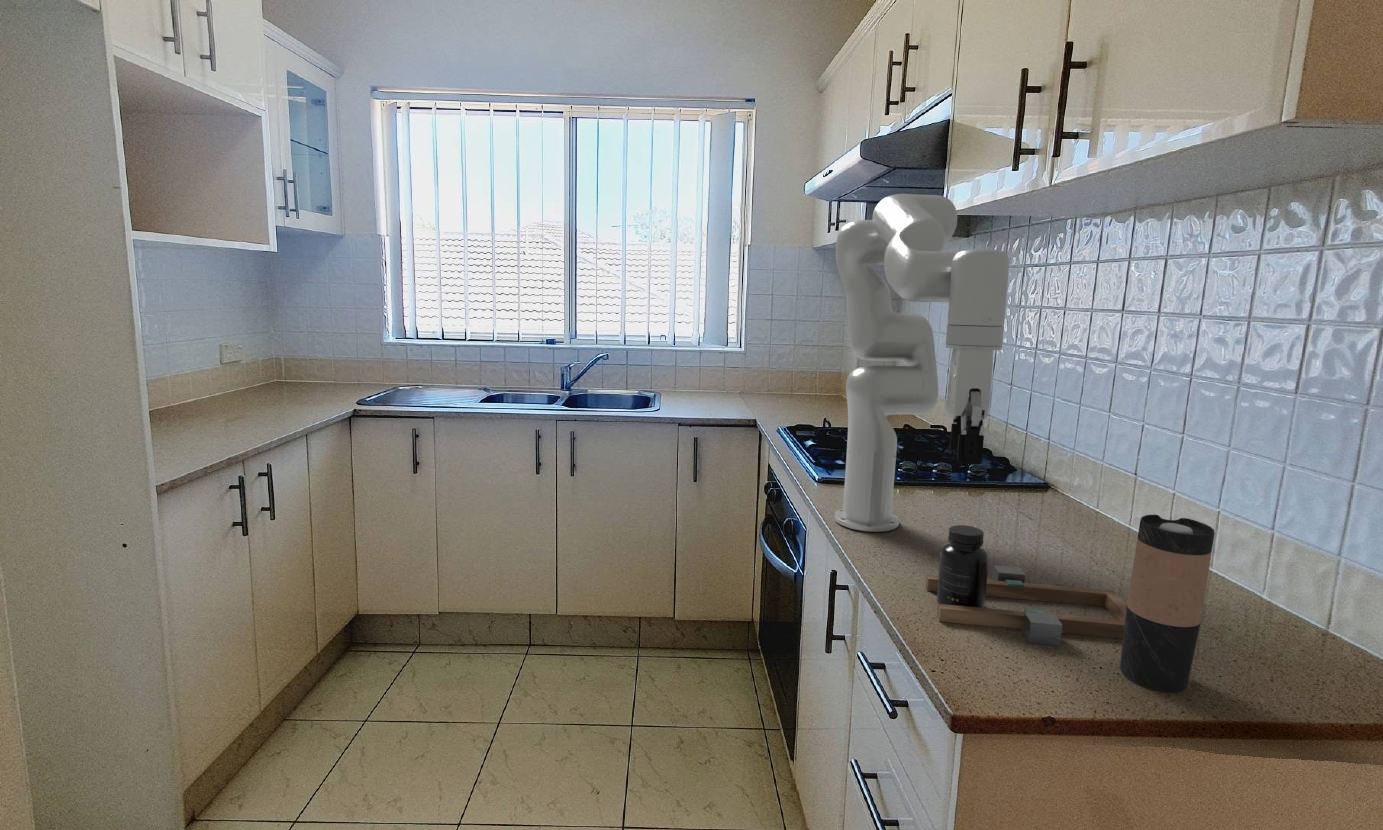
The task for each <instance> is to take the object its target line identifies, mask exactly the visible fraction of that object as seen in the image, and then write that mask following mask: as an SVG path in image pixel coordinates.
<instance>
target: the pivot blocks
mask: <svg viewBox="0 0 1383 830" xmlns="http://www.w3.org/2000/svg"><path fill="white" fill-rule="evenodd" d="M991 579H992V580H993V581H1005V580H1016V581H1022V583H1026V582H1025V581H1026V574H1025V572H1024V571H1023V569H1022V568H1021V567H1018V566H1009V565H997V564H996V565H993V570H992V578H991ZM1049 614H1050V613H1047V614H1038V613H1027V612H1024V620H1023V628H1022V629H1021V633H1022V634H1023V636H1024V638H1025V639H1026V641H1027V643H1029V644H1038V645H1049V646H1057V647H1058V646H1059V647H1060V646H1061V639H1062V634H1063V633H1062V624H1061V622H1060V621H1059V620H1058V618H1057V617H1056V616H1055V615H1049Z"/></svg>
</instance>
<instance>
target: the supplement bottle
mask: <svg viewBox="0 0 1383 830" xmlns="http://www.w3.org/2000/svg"><path fill="white" fill-rule="evenodd" d="M948 530H949V531H948V536H947V541H948V543H945V544H943V545H942V546H941V549H940V552H939V561H938V562H939V564H938V573H937V574H938V575H937V576H938V587H937V592H936V602H937V603H938V604H946V605H957V606H969V607H980V608H985V605H986V604H985V603H986V597H987V596H986V585H987V580H988V573H989V565H990V564H989V561H990V556H989V553H988V551H987V550H986V549H985V548H984V547H983V546H984V544H985V543H984V531H983V530H982V529H980V528H978V527H976V526H975V527H974V526H972V525H965V524H958V525H957V524H956V525H952V526H950V527H949V529H948ZM938 604H937V605H938Z"/></svg>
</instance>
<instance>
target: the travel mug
mask: <svg viewBox="0 0 1383 830" xmlns="http://www.w3.org/2000/svg"><path fill="white" fill-rule="evenodd" d="M1215 534H1216V532H1215V530H1214V528H1213V527H1211V526H1210V525H1208V524H1206V523H1203V522H1201V521H1198V520H1194V519H1192V518H1191V519H1190V518H1186V517H1181V518H1178V519H1166V518H1162V517H1161V516H1160V515H1158V514H1154V513H1153V514H1146V515H1143V516H1141V518H1140V520H1139V526H1138V533H1137V539H1136V543H1135V545H1136V546H1135V551H1134V557H1133V564H1132V570H1131V577H1130V582H1129V589H1128V593H1127V600H1126V605H1127V607H1126V617H1125V626H1124V635H1123V638H1122V646H1121V652H1120V666H1119V667H1120V671H1121V674H1122V675H1123V676H1124V677H1125V678H1126V679H1128V681H1131V682H1133V683H1135V684H1136V685H1139V686H1142V687H1143V688H1146V689H1150V690H1153V691H1157V692H1163V693H1170V694H1171V693H1172V694H1173V693H1180V692H1183V691H1185V690H1186V689H1187V687H1188V683H1189V678H1190V675H1191V670H1192V665H1193V661H1194V655H1195V651H1196V647H1197V646H1196V645H1197V642H1198V637H1199V632H1200V628H1201V622H1202V615H1203V611H1204V603H1205V599H1206V597H1205V596H1206V591H1207V584H1208V577H1209V572H1210V571H1209V570H1210V567H1211V566H1210V565H1211V561H1212V551H1213V547H1214V540H1215Z"/></svg>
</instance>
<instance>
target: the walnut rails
mask: <svg viewBox="0 0 1383 830" xmlns="http://www.w3.org/2000/svg"><path fill="white" fill-rule="evenodd" d="M925 581H926V582H925V588H926V591H927V592H936V593H937V587H938V575H929V574H927V575H926V579H925ZM985 597H996V598H1006V599H1007V598H1009V599H1016V600H1017V599H1019V600H1029V601H1030V600H1031V601H1042V602H1052V603H1065V604H1078V605H1086V606H1087V605H1088V606H1091V605H1092V606H1100V607H1101V606H1102V607H1105V609H1106V610H1107V611H1109V613H1110V614H1111V615H1112V616H1113V617H1114V619H1112V618H1102V617H1101V618H1100V617H1090V616H1078V615H1068V614H1067V615H1066V614H1055V613H1047V612H1046V613H1045V612H1044V611H1043V610H1036V609H1024V611H1022V610H1013V609H1012V610H1010V609H1003V608H1002V609H998V608H991V607H984V608H980V607H969V606H957V605H946V604H937V616H936V617H937V620H938V622H940V623H941V622H943V623H950V624H965V625H973V626H975V625H976V626H986V627H996V628H997V627H998V628H1005V629H1016V630H1018V629H1019V630H1022V628H1023V620H1024V612H1027V613H1038V614H1049V615H1055V616H1056V617H1057V618H1058V620H1059V621H1060V622H1061V624H1062V633H1061V634H1073V635H1082V636H1091V637H1092V636H1094V637H1101V638H1102V637H1103V638H1105V637H1106V638H1113V639H1115V638H1116V639H1123V635H1124V626H1125V617H1126V607H1127V602H1126V603H1125V601H1124V600H1123V599H1122V598H1121V597H1120V596H1119V595H1118V594H1117V593H1116V592H1115V591H1114V590H1110V589H1098V588H1086V587H1075V586H1073V587H1072V586H1062V585H1052V584H1051V585H1049V584H1038V583H1027V582H1024V583H1022V581H1016V580H1005V581H993V580H989V579H987V585H986V596H985Z"/></svg>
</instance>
